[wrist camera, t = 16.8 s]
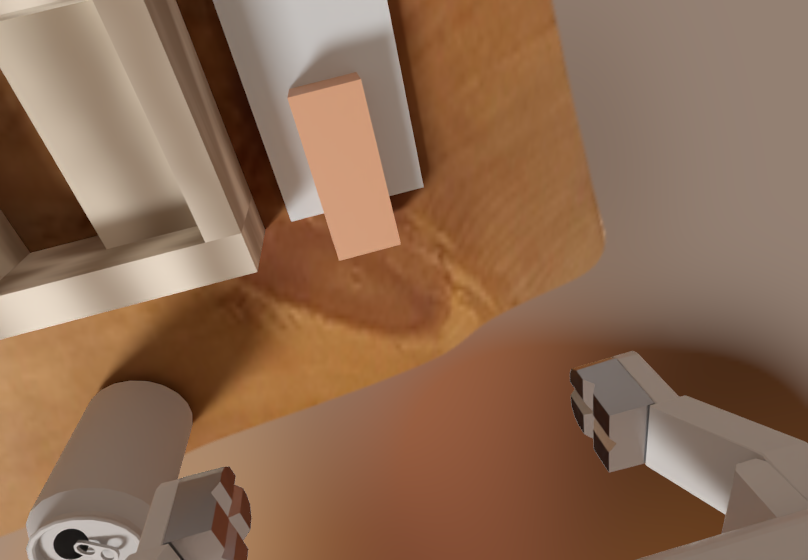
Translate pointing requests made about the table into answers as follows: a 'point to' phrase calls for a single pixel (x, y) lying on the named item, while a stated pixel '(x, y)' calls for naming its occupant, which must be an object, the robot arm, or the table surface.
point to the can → (110, 474)
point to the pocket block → (122, 161)
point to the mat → (312, 62)
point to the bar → (345, 164)
